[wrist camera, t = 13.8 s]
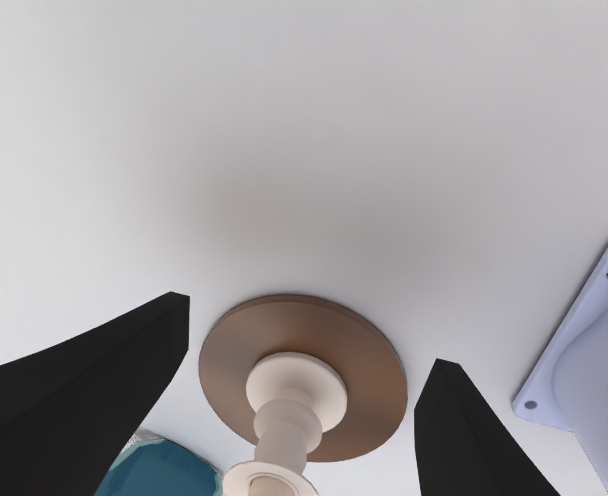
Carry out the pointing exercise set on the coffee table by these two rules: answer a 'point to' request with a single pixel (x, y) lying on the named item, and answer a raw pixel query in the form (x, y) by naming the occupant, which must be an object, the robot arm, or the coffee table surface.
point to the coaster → (315, 342)
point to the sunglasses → (159, 472)
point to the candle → (287, 423)
